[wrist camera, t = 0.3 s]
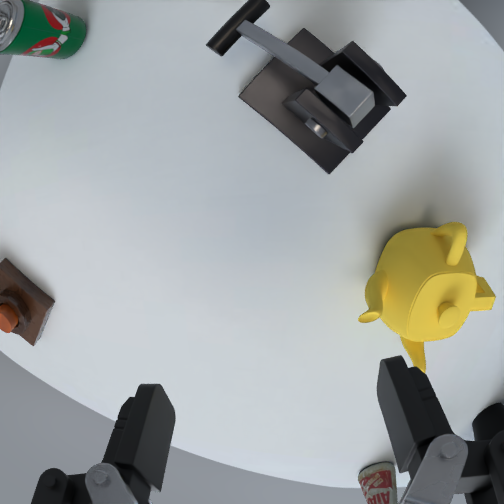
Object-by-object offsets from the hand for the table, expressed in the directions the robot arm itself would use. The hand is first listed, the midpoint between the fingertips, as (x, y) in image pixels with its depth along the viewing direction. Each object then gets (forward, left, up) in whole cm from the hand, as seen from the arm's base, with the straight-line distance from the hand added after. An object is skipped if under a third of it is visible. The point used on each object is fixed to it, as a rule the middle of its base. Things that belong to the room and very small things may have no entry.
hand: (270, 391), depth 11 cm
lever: (-7, +11, -15) cm, 20 cm away
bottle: (+59, -28, -23) cm, 69 cm away
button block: (-18, -33, -23) cm, 44 cm away
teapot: (+18, +5, -23) cm, 30 cm away
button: (-18, -33, -19) cm, 43 cm away
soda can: (-28, +2, -23) cm, 36 cm away
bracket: (-3, +11, -23) cm, 26 cm away
